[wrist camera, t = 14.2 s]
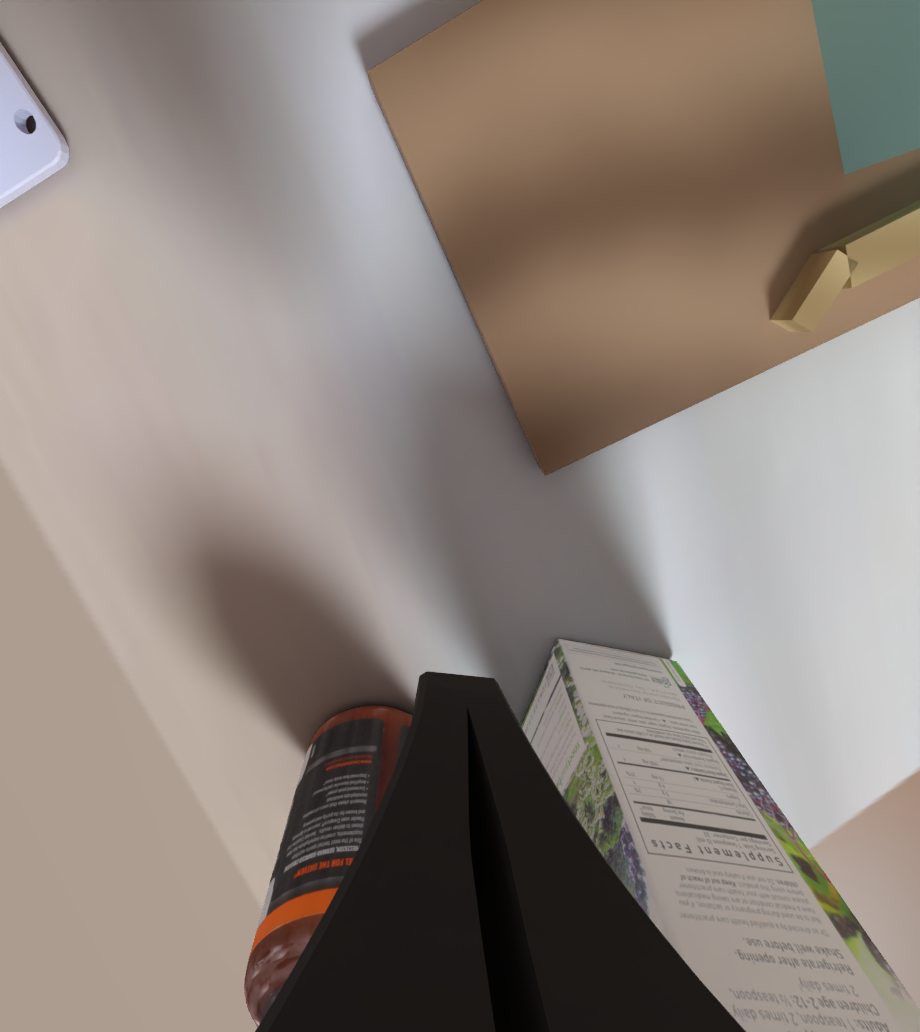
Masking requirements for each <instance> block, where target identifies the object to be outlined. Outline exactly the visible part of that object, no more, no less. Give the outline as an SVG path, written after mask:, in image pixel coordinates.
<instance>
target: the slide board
mask: <svg viewBox="0 0 920 1032" xmlns="http://www.w3.org/2000/svg"><path fill="white" fill-rule="evenodd" d="M367 72H368V76H369V79H370V83H371V87H372V90H373V93H374V95H375V97H376V99H377V102H378V104H379V106H380V108H381V111H382V113H383V115H384V117H385V120H386V122H387V124H388V127H389V129H390V131H391V133H392V136H393V138H394V140H395V142H396V145H397V147H398V149H399V151H400V154H401V156H402V158H403V160H404V163H405V165H406V167H407V169H408V172H409V174H410V176H411V179H412V181H413V183H414V185H415V188H416V190H417V192H418V194H419V197H420V199H421V201H422V203H423V206H424V208H425V210H426V212H427V215H428V217H429V219H430V221H431V224H432V226H433V228H434V230H435V233H436V235H437V237H438V240H439V242H440V244H441V246H442V249H443V251H444V253H445V255H446V258H447V260H448V262H449V264H450V267H451V269H452V271H453V273H454V276H455V278H456V280H457V282H458V285H459V287H460V289H461V292H462V294H463V296H464V298H465V301H466V303H467V305H468V307H469V310H470V312H471V314H472V316H473V319H474V321H475V323H476V325H477V328H478V330H479V332H480V334H481V337H482V339H483V341H484V343H485V346H486V348H487V350H488V353H489V355H490V357H491V359H492V362H493V364H494V366H495V368H496V371H497V373H498V375H499V377H500V380H501V382H502V384H503V386H504V389H505V391H506V393H507V395H508V398H509V400H510V402H511V405H512V407H513V409H514V411H515V414H516V416H517V418H518V420H519V423H520V425H521V427H522V429H523V432H524V434H525V436H526V438H527V441H528V443H529V445H530V447H531V450H532V452H533V454H534V456H535V459H536V461H537V463H538V466H539V468H540V469H541V470H542V472H543V473H544V474H545V476H546V475H548V474H550V473H552V472H554V471H556V470H558V469H560V468H562V467H565V466H567V465H569V464H571V463H573V462H575V461H577V460H579V459H581V458H583V457H586V456H588V455H590V454H592V453H594V452H596V451H598V450H600V449H602V448H604V447H607V446H609V445H611V444H613V443H615V442H617V441H619V440H621V439H623V438H625V437H628V436H630V435H632V434H634V433H636V432H638V431H640V430H642V429H644V428H647V427H649V426H651V425H653V424H655V423H657V422H659V421H661V420H663V419H665V418H668V417H670V416H672V415H674V414H676V413H678V412H680V411H682V410H684V409H686V408H689V407H691V406H693V405H695V404H697V403H699V402H701V401H703V400H705V399H707V398H710V397H712V396H714V395H716V394H718V393H720V392H722V391H724V390H726V389H728V388H731V387H733V386H735V385H737V384H739V383H741V382H743V381H745V380H747V379H749V378H752V377H754V376H756V375H758V374H760V373H762V372H764V371H766V370H768V369H770V368H773V367H775V366H777V365H779V364H781V363H783V362H785V361H787V360H789V359H791V358H794V357H796V356H798V355H800V354H802V353H804V352H806V351H808V350H810V349H812V348H815V347H817V346H819V345H821V344H823V343H825V342H827V341H829V340H831V339H833V338H836V337H838V336H840V335H842V334H844V333H846V332H848V331H850V330H852V329H855V328H857V327H859V326H861V325H863V324H865V323H867V322H869V321H871V320H873V319H876V318H878V317H880V316H882V315H884V314H886V313H888V312H890V311H892V310H894V309H897V308H899V307H901V306H903V305H905V304H907V303H909V302H911V301H913V300H915V299H918V298H920V148H918V149H915V150H913V151H910V152H907V153H904V154H901V155H899V156H896V157H893V158H890V159H887V160H885V161H882V162H879V163H876V164H873V165H870V166H868V167H865V168H862V169H859V170H856V171H854V172H851V173H848V174H845V175H844V169H843V164H842V159H841V154H840V148H839V143H838V138H837V133H836V128H835V122H834V117H833V112H832V107H831V101H830V96H829V91H828V86H827V80H826V75H825V70H824V65H823V60H822V54H821V49H820V44H819V39H818V33H817V28H816V23H815V18H814V12H813V7H812V2H811V0H482V1H481V2H479V3H478V4H476V5H474V6H473V7H471V8H469V9H468V10H466V11H465V12H463V13H461V14H460V15H458V16H457V17H455V18H453V19H452V20H450V21H448V22H447V23H445V24H444V25H442V26H440V27H439V28H437V29H435V30H434V31H432V32H431V33H429V34H427V35H426V36H424V37H423V38H421V39H419V40H418V41H416V42H414V43H413V44H411V45H410V46H408V47H406V48H405V49H403V50H401V51H400V52H398V53H397V54H395V55H393V56H392V57H390V58H389V59H387V60H385V61H384V62H382V63H380V64H379V65H377V66H376V67H374V68H372V69H371V70H369V71H367Z"/></svg>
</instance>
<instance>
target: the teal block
mask: <svg viewBox="0 0 920 1032" xmlns="http://www.w3.org/2000/svg"><path fill="white" fill-rule="evenodd" d="M811 2H812V7H813V12H814V18H815V23H816V28H817V33H818V39H819V44H820V49H821V54H822V60H823V65H824V70H825V75H826V80H827V86H828V91H829V96H830V101H831V107H832V112H833V117H834V122H835V128H836V133H837V138H838V143H839V148H840V154H841V159H842V164H843V169H844V175H845V174H848V173H851V172H854V171H856V170H859V169H862V168H865V167H868V166H870V165H873V164H876V163H879V162H882V161H885V160H887V159H890V158H893V157H896V156H899V155H901V154H904V153H907V152H910V151H913V150H915V149H918V148H920V0H811Z"/></svg>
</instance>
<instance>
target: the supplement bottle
mask: <svg viewBox="0 0 920 1032" xmlns="http://www.w3.org/2000/svg"><path fill="white" fill-rule="evenodd" d="M412 716H413V715H411V714H409V713H406V712H404V711H401V710H398V709H395V708H390V707H385V706H363V707H357V708H353V709H349V710H346V711H344V712H341V713H338V714H337V715H335V716H334V717H332V718H330V719H329V720H327V721H326V722H325V723H324V724H323V725H322V726H321V727H320V728H319V729H318V730H317V732H316V733H315V735H314V736H313V738H312V740H311V742H310V745H309V748H308V751H307V753H306V756H305V759H304V763H303V766H302V770H301V774H300V777H299V781H298V784H297V788H296V791H295V795H294V798H293V802H292V806H291V809H290V813H289V816H288V820H287V824H286V827H285V831H284V835H283V838H282V842H281V845H280V850H279V853H278V856H277V860H276V863H275V867H274V870H273V873H272V877H271V880H270V885H269V888H268V892H267V895H266V899H265V903H264V906H263V910H262V913H261V917H260V920H259V924H258V928H257V931H256V935H255V939H254V943H253V946H252V949H251V953H250V957H249V961H248V966H247V970H246V976H245V984H244V985H245V986H244V989H245V997H246V1003H247V1007H248V1010H249V1012H250V1014H251V1016H252V1019H253V1020H254V1021H255V1023H256V1025H257V1027H258V1026H259V1025H260V1023H261V1022H262V1020H263V1018H264V1017H265V1015H266V1013H267V1012H268V1010H269V1008H270V1007H271V1005H272V1004H273V1002H274V1000H275V999H276V997H277V995H278V993H279V992H280V990H281V988H282V987H283V985H284V983H285V982H286V980H287V978H288V977H289V975H290V973H291V972H292V970H293V968H294V966H295V965H296V963H297V961H298V959H299V958H300V956H301V954H302V952H303V950H304V949H305V947H306V945H307V943H308V942H309V940H310V938H311V936H312V935H313V933H314V931H315V929H316V928H317V926H318V924H319V922H320V921H321V919H322V917H323V915H324V913H325V912H326V910H327V908H328V906H329V904H330V903H331V901H332V899H333V897H334V895H335V893H336V891H337V889H338V888H339V886H340V884H341V882H342V880H343V878H344V876H345V874H346V872H347V871H348V869H349V867H350V865H351V863H352V861H353V859H354V857H355V855H356V853H357V851H358V849H359V847H360V845H361V843H362V841H363V839H364V837H365V835H366V833H367V830H368V828H369V826H370V824H371V822H372V820H373V817H374V815H375V813H376V811H377V808H378V806H379V804H380V802H381V800H382V797H383V795H384V793H385V791H386V788H387V786H388V784H389V782H390V779H391V777H392V775H393V772H394V770H395V767H396V764H397V762H398V759H399V756H400V753H401V751H402V748H403V745H404V743H405V740H406V737H407V735H408V732H409V728H410V725H411V722H412Z"/></svg>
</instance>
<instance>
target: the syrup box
mask: <svg viewBox="0 0 920 1032" xmlns="http://www.w3.org/2000/svg"><path fill="white" fill-rule="evenodd" d="M521 728H522V729H523V731H524V733H525V735H526V737H527V738H528V740H529V742H530V744H531V745H532V747H533V749H534V750H535V752H536V754H537V756H538V757H539V759H540V761H541V762H542V764H543V765H544V767H545V769H546V770H547V772H548V774H549V775H550V777H551V778H552V780H553V782H554V783H555V785H556V787H557V788H558V790H559V791H560V793H561V795H562V796H563V798H564V799H565V801H566V802H567V804H568V805H569V807H570V808H571V810H572V812H573V813H574V815H575V816H576V818H577V819H578V821H579V822H580V823H581V825H582V826H583V828H584V829H585V831H586V832H587V834H588V835H589V837H590V838H591V839H592V841H593V842H594V844H595V845H596V847H597V848H598V850H599V851H600V852H601V854H602V855H603V857H604V858H605V859H606V861H607V862H608V864H609V865H610V866H611V868H612V869H613V871H614V872H615V873H616V875H617V876H618V877H619V879H620V880H621V881H622V883H623V884H624V885H625V887H626V888H627V889H628V891H629V892H630V893H631V895H632V896H633V897H634V898H635V900H636V901H637V902H638V904H639V905H640V906H641V907H642V909H643V910H644V911H645V913H646V914H647V915H648V917H649V918H650V919H651V920H652V922H653V923H654V924H655V926H656V927H657V928H658V929H659V930H660V932H661V933H662V934H663V935H664V937H665V938H666V939H667V940H668V941H669V943H670V944H671V945H672V946H673V948H674V949H675V950H676V951H677V952H678V954H679V955H680V956H681V957H682V959H683V960H684V961H685V962H686V964H687V965H688V966H689V967H690V968H691V970H692V971H693V972H694V973H695V974H696V976H697V977H698V978H699V979H700V980H701V981H702V983H703V984H704V985H705V986H706V987H707V988H708V989H709V990H710V992H711V993H712V994H713V995H714V996H715V997H716V998H717V999H718V1001H719V1002H720V1003H721V1004H722V1005H723V1006H724V1007H725V1008H726V1010H727V1011H728V1012H729V1013H730V1014H731V1015H732V1016H733V1018H734V1019H735V1020H736V1021H737V1022H738V1023H739V1024H740V1025H741V1027H742V1028H743V1029H744V1030H745V1031H746V1032H920V1009H919V1007H918V1006H917V1004H916V1003H915V1001H914V1000H913V999H912V997H911V996H910V994H909V993H908V992H907V990H906V989H905V987H904V986H903V984H902V983H901V981H900V980H899V979H898V977H897V976H896V975H895V973H894V972H893V970H892V969H891V967H890V966H889V965H888V963H887V962H886V960H885V959H884V957H883V956H882V955H881V953H880V952H879V950H878V949H877V948H876V946H875V945H874V944H873V942H872V941H871V939H870V938H869V937H868V935H867V933H866V932H865V931H864V929H863V928H862V926H861V925H860V923H859V922H858V920H857V919H856V918H855V916H854V915H853V914H852V912H851V911H850V909H849V908H848V906H847V905H846V903H845V902H844V900H843V899H842V897H841V896H840V894H839V893H838V892H837V890H836V889H835V887H834V886H833V884H832V883H831V881H830V880H829V879H828V877H827V876H826V874H825V873H824V871H823V870H822V869H821V867H820V866H819V864H818V863H817V861H816V860H815V859H814V857H813V856H812V854H811V853H810V851H809V850H808V849H807V847H806V846H805V844H804V843H803V841H802V840H801V839H800V837H799V836H798V834H797V833H796V831H795V830H794V828H793V827H792V826H791V824H790V823H789V821H788V820H787V818H786V817H785V816H784V814H783V813H782V811H781V810H780V808H779V807H778V806H777V804H776V803H775V802H774V800H773V799H772V798H771V796H770V795H769V793H768V792H767V790H766V789H765V787H764V786H763V784H762V783H761V781H760V780H759V778H758V777H757V776H756V774H755V773H754V772H753V770H752V769H751V767H750V766H749V765H748V763H747V762H746V761H745V759H744V758H743V756H742V755H741V753H740V752H739V750H738V749H737V747H736V746H735V745H734V743H733V742H732V740H731V739H730V737H729V736H728V734H727V733H726V731H725V730H724V728H723V727H722V725H721V724H720V723H719V721H718V720H717V719H716V717H715V716H714V714H713V713H712V711H711V710H710V708H709V707H708V705H707V704H706V703H705V701H704V700H703V698H702V697H701V695H700V694H699V692H698V691H697V690H696V688H695V687H694V685H693V684H692V683H691V681H690V680H689V678H688V677H687V675H686V674H685V672H684V671H683V669H682V668H681V666H680V665H679V664H678V663H677V662H676V661H672V660H670V659H665V658H660V657H655V656H650V655H645V654H640V653H634V652H629V651H624V650H619V649H613V648H608V647H603V646H597V645H591V644H586V643H580V642H574V641H569V640H564V639H557V640H556V642H555V644H554V646H553V649H552V652H551V654H550V656H549V659H548V662H547V664H546V667H545V669H544V672H543V674H542V677H541V679H540V681H539V684H538V686H537V689H536V691H535V694H534V696H533V699H532V701H531V704H530V706H529V708H528V711H527V713H526V716H525V718H524V720H523V722H522V725H521Z"/></svg>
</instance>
